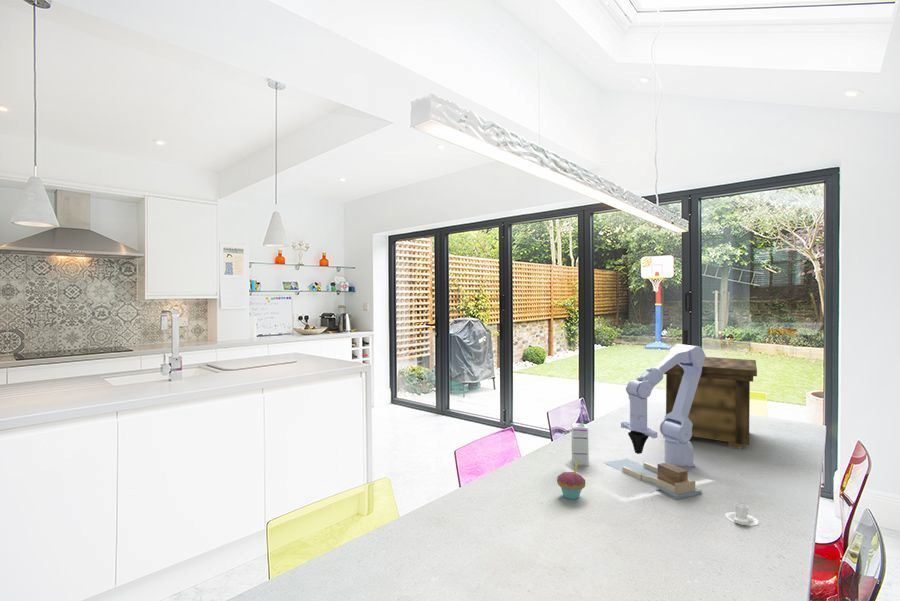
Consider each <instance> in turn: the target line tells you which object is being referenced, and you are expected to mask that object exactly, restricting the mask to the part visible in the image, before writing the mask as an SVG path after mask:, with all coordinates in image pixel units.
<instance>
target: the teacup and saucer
mask: <svg viewBox="0 0 900 601" xmlns="http://www.w3.org/2000/svg"><path fill="white" fill-rule="evenodd" d="M730 515H735V517H733V518H731V517H730ZM724 517H725V518H726V519H727V520H728V521H730V522H732V523H735V524H737V525H741V526H745V527H746V526H748V527H754V526H758V525H759V523H760V521H759V520H758V518H756V517H754V516H753V515H751V514H749V506H748V505H747V504H746V503H745V504H744V503H740V502H737V503H734V511H729V512H728V511H727V512H726V513H725V514H724ZM748 517H749V518H750V519H752V520H753V521H754V522H753V523H750V521H749V520H748V519H747V518H748Z"/></svg>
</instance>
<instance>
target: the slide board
mask: <svg viewBox="0 0 900 601" xmlns="http://www.w3.org/2000/svg"><path fill="white" fill-rule="evenodd" d="M604 464H605V465H607V466H609V467H612V468H614V469H615V470H618V471H620V472H622V473H624V474H627V475H629V476H631V477H633V478H635V479H637V480H639V481H641V482H644V483H646V484H648V485H650V486H653V487H655V488H657V489H656V491H657V492H658V493H661V494H663V495H664V496H667V497H669V498H672V499H674V500H675V501H677V500H680V499H685V498H689V497H693V496H697V495H701V494H702V489H699V488H698V487H696V479H688V480H687V481H683V482H678V483H675V486H674V485H672V484H669V483H667V482H665V481H662V480H660V479H658V478H657V473H658V466H657V465H654V464H651V463H648V462H645V461H644V462H643V463H642V464H640V463H638V462H636V461H634V460H632V459H628V458H622V459H617V460H611V461H606V462H605V461H604Z"/></svg>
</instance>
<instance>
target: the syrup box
mask: <svg viewBox="0 0 900 601" xmlns="http://www.w3.org/2000/svg"><path fill="white" fill-rule="evenodd" d="M577 459H578V465H577V466H586V467H587V466H589V464H590V462H589V427H588V424H587V423H580V422H577V423H575V422H574V423H571V464H572V465H575V464H576V460H577Z"/></svg>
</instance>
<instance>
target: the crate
mask: <svg viewBox="0 0 900 601" xmlns="http://www.w3.org/2000/svg"><path fill="white" fill-rule="evenodd" d="M683 374H684V370H683V368H682V367H681V366H680V365H679V364H676V365H675V366H674V367H672V368H671V369H670V370H668V371H667V372H666V373H664V374H663V375H666V376H665V377H666V378H665V380H666V381H665V382H666V384H665V398H666V399H665V415H667V414H668V413H670V412H672V410H673V407H674V404H675V400H676V397H677V394H678V390H679V387H680V384H681V381H682V377H683ZM754 377H758V369H757V361H756V359H745V358H729V357H716V356H715V357H714V356H713V357H712V356H705V360H704V363H703V366H702V372H701V376H700V379H699V382H698V386H697V389H696V392H695V395H694V399H693V402H692V405H691V409H690V412H689V415H688V418H689V419H690V421H691V422H692V424H693V426H692V436H691V437H695V438H703V439H710V440H716V441H723V442H728V447H730V448H736V449H743V445H745V446H750V402H751V400H750V395H751V394H750V389H751V388H750V387H751V383H750V382H753V383H754ZM676 422H677V421H676ZM677 423H680V424H681V422H677Z"/></svg>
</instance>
